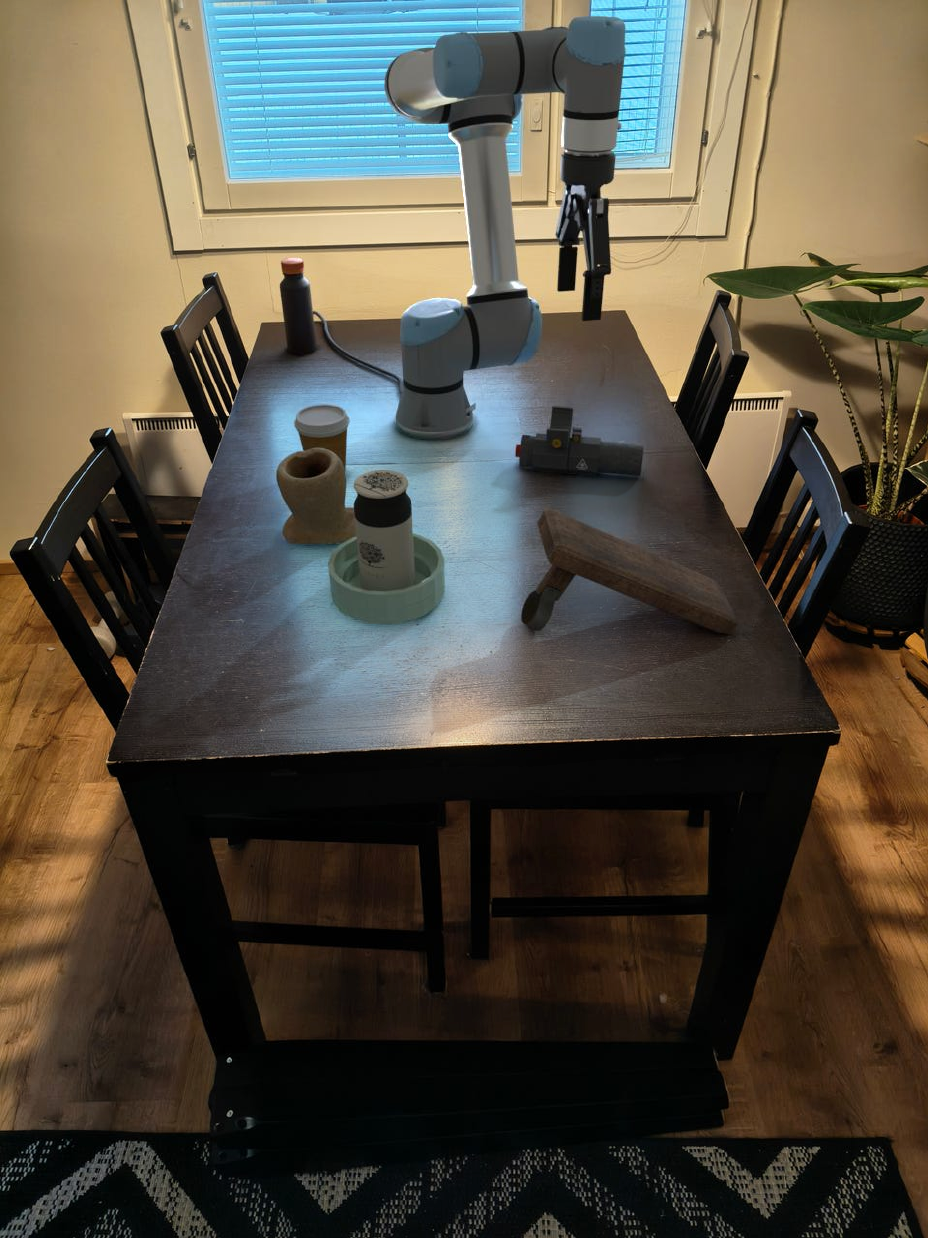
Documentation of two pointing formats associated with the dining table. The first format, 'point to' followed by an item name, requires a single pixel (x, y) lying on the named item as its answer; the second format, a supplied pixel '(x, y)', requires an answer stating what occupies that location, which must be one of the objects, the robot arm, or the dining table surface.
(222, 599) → the dining table surface
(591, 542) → the dark brown angled bar
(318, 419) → the disposable coffee cup
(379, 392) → the dining table surface
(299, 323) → the water bottle
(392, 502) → the travel mug
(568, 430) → the laser sight
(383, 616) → the bowl
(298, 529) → the stone cup
